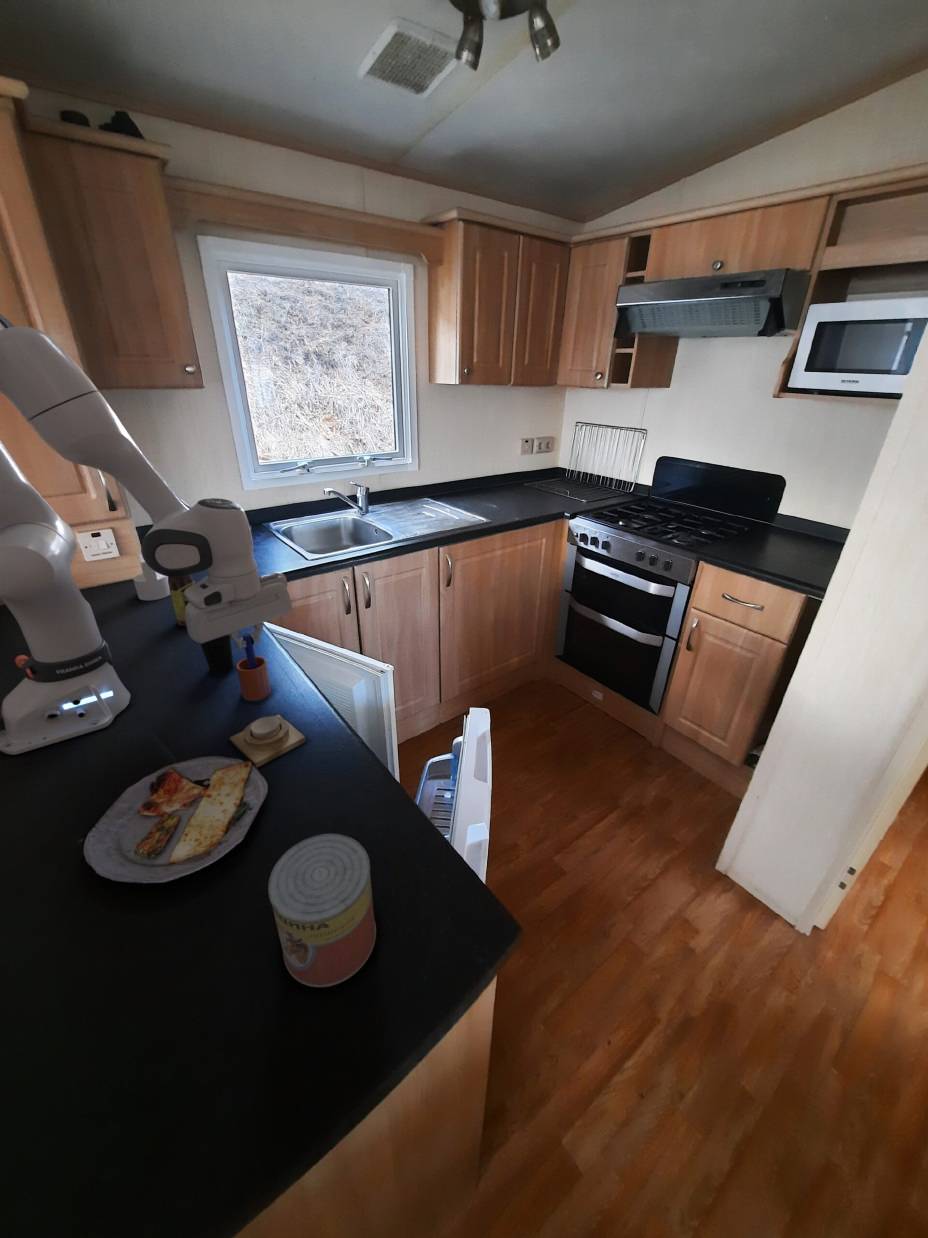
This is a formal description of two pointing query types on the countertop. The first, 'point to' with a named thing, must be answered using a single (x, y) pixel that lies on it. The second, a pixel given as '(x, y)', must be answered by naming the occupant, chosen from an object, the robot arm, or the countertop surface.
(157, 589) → the base with upright slab
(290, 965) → the canned food
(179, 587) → the sauce bottle
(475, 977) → the countertop surface
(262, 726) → the face circle
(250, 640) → the rod
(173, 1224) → the countertop surface
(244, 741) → the wooden square stand base
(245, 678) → the pen pot
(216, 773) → the food plate
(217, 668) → the drinking cup
